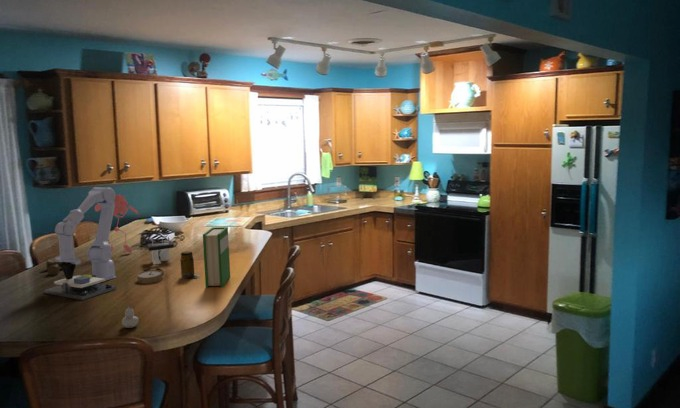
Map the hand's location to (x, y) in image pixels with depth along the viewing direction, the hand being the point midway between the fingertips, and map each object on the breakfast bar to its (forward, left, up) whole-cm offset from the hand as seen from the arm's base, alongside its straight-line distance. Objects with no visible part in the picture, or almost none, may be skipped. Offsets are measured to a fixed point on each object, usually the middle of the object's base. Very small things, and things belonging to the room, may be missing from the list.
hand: (69, 278), depth 239 cm
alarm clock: (-27, +21, -5) cm, 35 cm away
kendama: (-19, -38, -5) cm, 43 cm away
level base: (0, +7, -5) cm, 8 cm away
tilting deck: (0, +7, 0) cm, 7 cm away
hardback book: (-37, +54, -5) cm, 65 cm away
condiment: (-38, +35, -5) cm, 52 cm away
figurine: (-62, -41, -5) cm, 74 cm away
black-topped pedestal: (-55, -1, -5) cm, 55 cm away
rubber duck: (+22, +64, -5) cm, 68 cm away
